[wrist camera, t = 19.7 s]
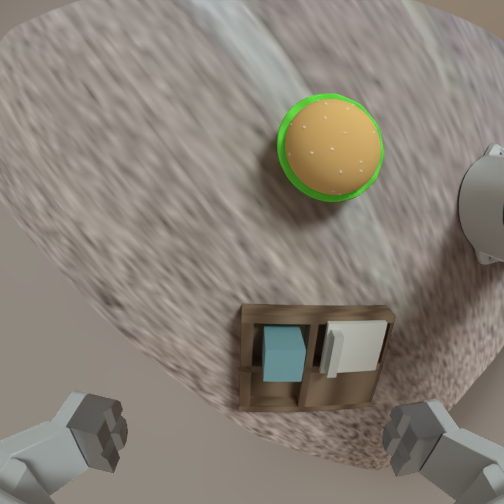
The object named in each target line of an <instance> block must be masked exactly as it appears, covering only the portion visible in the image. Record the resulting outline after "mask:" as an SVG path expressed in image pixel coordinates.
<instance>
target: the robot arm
mask: <svg viewBox="0 0 504 504" xmlns="http://www.w3.org/2000/svg"><path fill="white" fill-rule="evenodd" d="M499 154H500V155H499ZM459 216H460V222H461V226H462V229H463V231H464V234H465V236H466V237H467V239H468V241H469V242H470V243H471V244H472V246H473V247H474V249H475V253H476V257H477V260H478V262H479V263H480V264H483V265H487V264H491V263H495V262H498V261H502V262H504V149H503V148H502V147H500V146H499V145H497V144H491V145H490V146H489V147H488V149H487V151H486V153H485V155H484V156H483V157H482V158H481V159H479V160H478V161H476V162H475V163H474V164H473V165H472V166H471V167H470V169H469V170H468V172H467V174H466V175H465V178H464V180H463V183H462V186H461V191H460V197H459ZM122 410H123V409H122V406H121V403H120V402H119V401H118V400H114V399H110V398H105V397H101V396H97V395H93V394H88V393H84V392H80V391H76V390H75V391H73V392H72V393H71V394H70V395H69V397H68V398H67V399H66V401H65V402H64V404H63V405H62V407H61V408H60V409H59V411H58V412H57V414H56V415H55V416H54V418H53V419H52V421H51V422H49V421H45V422H43V423H41V424H39V425H36V426H34V427H32V428H29V429H27V430H25V431H22V432H20V433H17V434H15V435H13V436H10V437H8V438H5V439H3V440H1V441H0V504H55V503H54V501H52V499H51V498H50V495H51V494H53V493H54V492H56V491H57V490H58V489H60V488H61V487H63V486H64V485H66V484H67V483H68V482H70V481H71V480H73V479H74V478H76V477H77V476H79V475H80V474H81V473H83V472H84V471H85V470H87V469H88V467H91V468H95V469H99V470H103V471H107V472H111V473H114V471H115V468H116V466H117V463H118V461H119V459H120V457H119V454H118V452H117V451H119V450H120V449H122V448H123V447H124V446H125V443H126V441H127V434H128V429H127V423H126V420H125V419H124V418H123V417H122V416H121V412H122ZM390 416H391V418H392V420H391V421H390V422H389V423H388V424H387V425H386V426H385V429H384V431H383V446H384V449H385V451H386V452H387V453H388V454H390V455H392V458H391V460H390V463H391V465H392V468H393V470H394V473H395V475H396V477H397V476H402V475H406V474H411V473H415V472H419V471H420V472H419V473H420V474H422V475H423V476H424V477H425V478H427V479H428V480H429V481H431V482H432V483H433V484H435V485H436V486H437V487H439V488H440V489H442V490H443V491H444V492H445V493H447V494H448V495H449V496H451V497H452V498H453V499H455V500H456V502H455V503H454V504H504V447H501V446H499V445H497V444H495V443H493V442H491V441H488V440H486V439H484V438H482V437H480V436H478V435H476V434H474V433H472V432H469V431H467V430H465V429H463V428H462V429H459V428H458V427H457V425H456V424H455V422H454V421H453V419H452V418H451V417H450V415H449V414H448V412H447V411H446V409H445V408H444V407H443V405H442V404H441V402H440V401H439V400H437V399H431V400H426V401H422V402H416V403H411V404H405V405H399V406H395V407H394V408H393V409H392V412H391V414H390Z"/></svg>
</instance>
